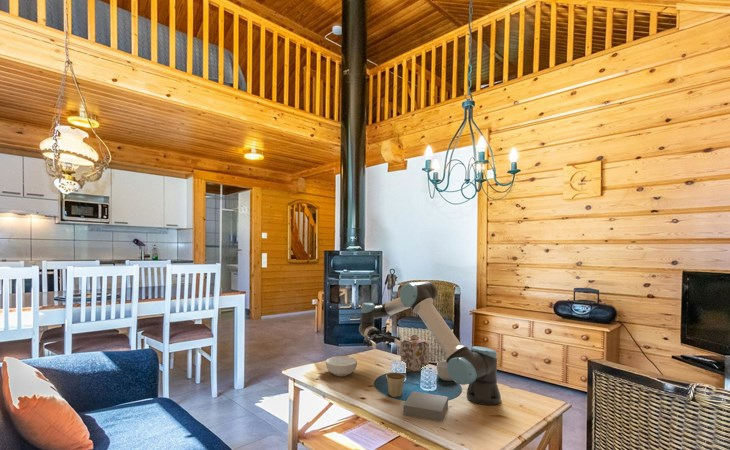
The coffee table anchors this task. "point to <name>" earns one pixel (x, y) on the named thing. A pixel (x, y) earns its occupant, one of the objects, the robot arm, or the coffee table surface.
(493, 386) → the robot arm
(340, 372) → the cereal bowl
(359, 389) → the coffee table surface
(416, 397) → the plinth
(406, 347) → the decorative jar
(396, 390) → the flower pot
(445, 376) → the teacup
